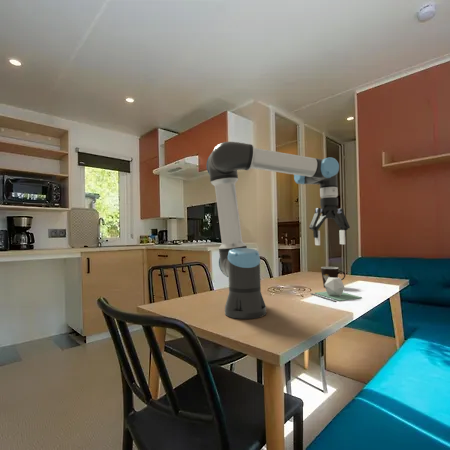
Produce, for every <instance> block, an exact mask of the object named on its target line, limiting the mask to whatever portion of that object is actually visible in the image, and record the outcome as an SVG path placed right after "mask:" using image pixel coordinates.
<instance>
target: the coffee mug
mask: <svg viewBox="0 0 450 450" xmlns="http://www.w3.org/2000/svg"><path fill="white" fill-rule="evenodd" d="M320 271H321V277H322V284H323V288H324V289H326V288H325V286H324V285H325V283H326V281H327V279H328V277H333V278H339V273H342V274H343V277H342V278H341V280H342V281H343V280H344V279H345V278H346V272H344V271H341V270H340V271H339V267H338V266H337V267H336V266H321V267H320Z"/></svg>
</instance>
